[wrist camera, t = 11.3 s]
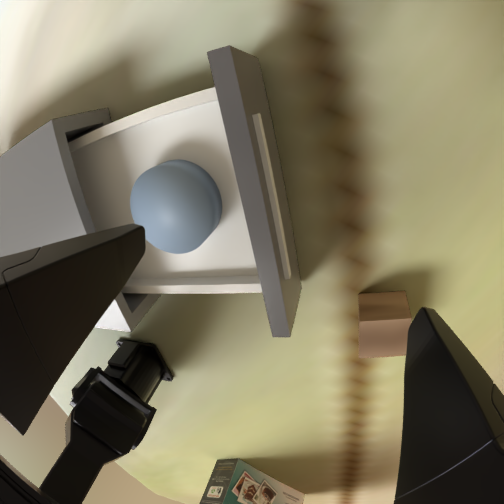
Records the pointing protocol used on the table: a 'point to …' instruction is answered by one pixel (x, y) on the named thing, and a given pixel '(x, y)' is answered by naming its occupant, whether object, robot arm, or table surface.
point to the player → (56, 202)
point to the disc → (176, 205)
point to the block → (383, 324)
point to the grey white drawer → (225, 176)
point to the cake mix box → (246, 486)
